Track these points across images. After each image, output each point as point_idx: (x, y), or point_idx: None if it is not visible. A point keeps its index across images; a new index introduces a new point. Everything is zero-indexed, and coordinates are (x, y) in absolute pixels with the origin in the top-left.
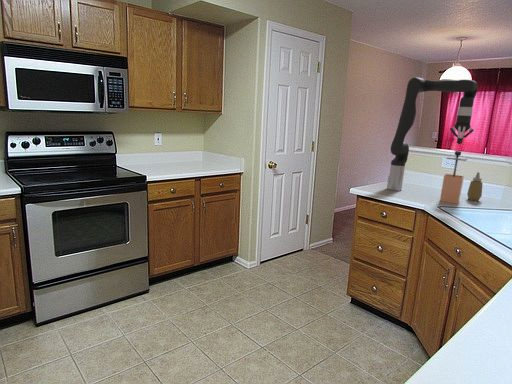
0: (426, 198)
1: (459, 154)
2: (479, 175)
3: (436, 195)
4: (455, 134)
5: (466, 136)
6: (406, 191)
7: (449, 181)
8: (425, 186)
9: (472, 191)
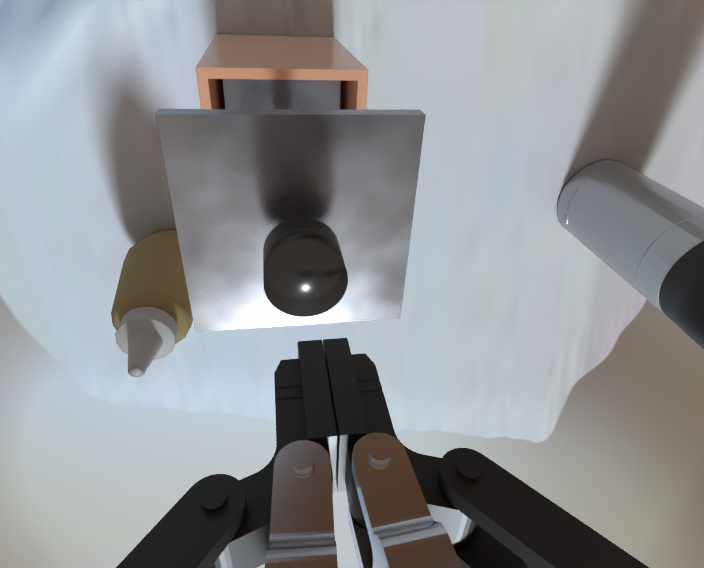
0: (418, 62)
1: (276, 234)
2: (128, 352)
3: None
4: (488, 498)
5: (188, 502)
6: (530, 195)
7: (306, 60)
8: (432, 397)
9: (169, 251)
